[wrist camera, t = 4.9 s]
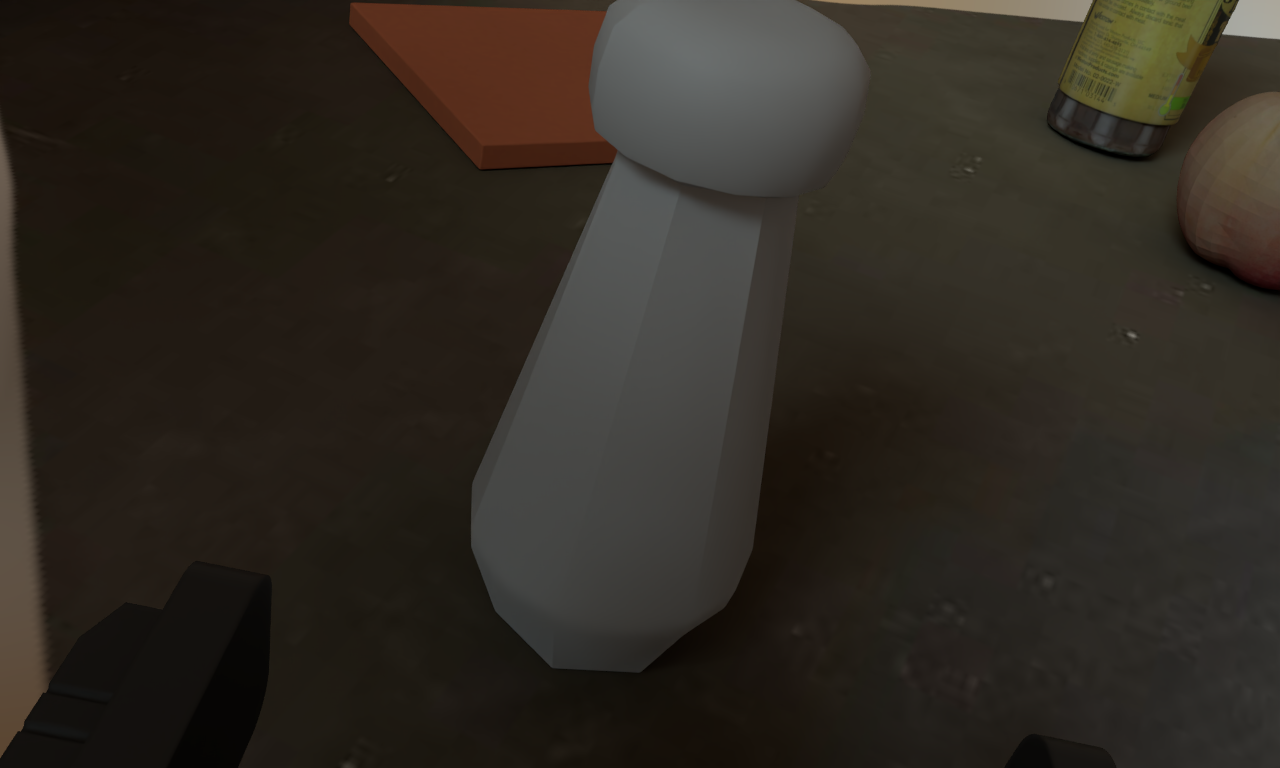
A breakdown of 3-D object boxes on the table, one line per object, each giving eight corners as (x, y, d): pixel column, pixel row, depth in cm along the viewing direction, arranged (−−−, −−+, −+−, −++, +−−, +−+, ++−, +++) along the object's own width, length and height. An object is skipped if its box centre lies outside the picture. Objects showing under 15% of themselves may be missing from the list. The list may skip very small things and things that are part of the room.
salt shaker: (524, 476, 27) (637, -82, 19) (747, 566, 26) (953, 17, 19) (405, 639, 22) (495, -18, 15) (673, 756, 21) (910, 119, 14)
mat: (479, 170, 40) (482, 144, 39) (348, 24, 49) (350, 2, 48) (780, 155, 47) (787, 133, 47) (619, 30, 56) (623, 11, 56)
